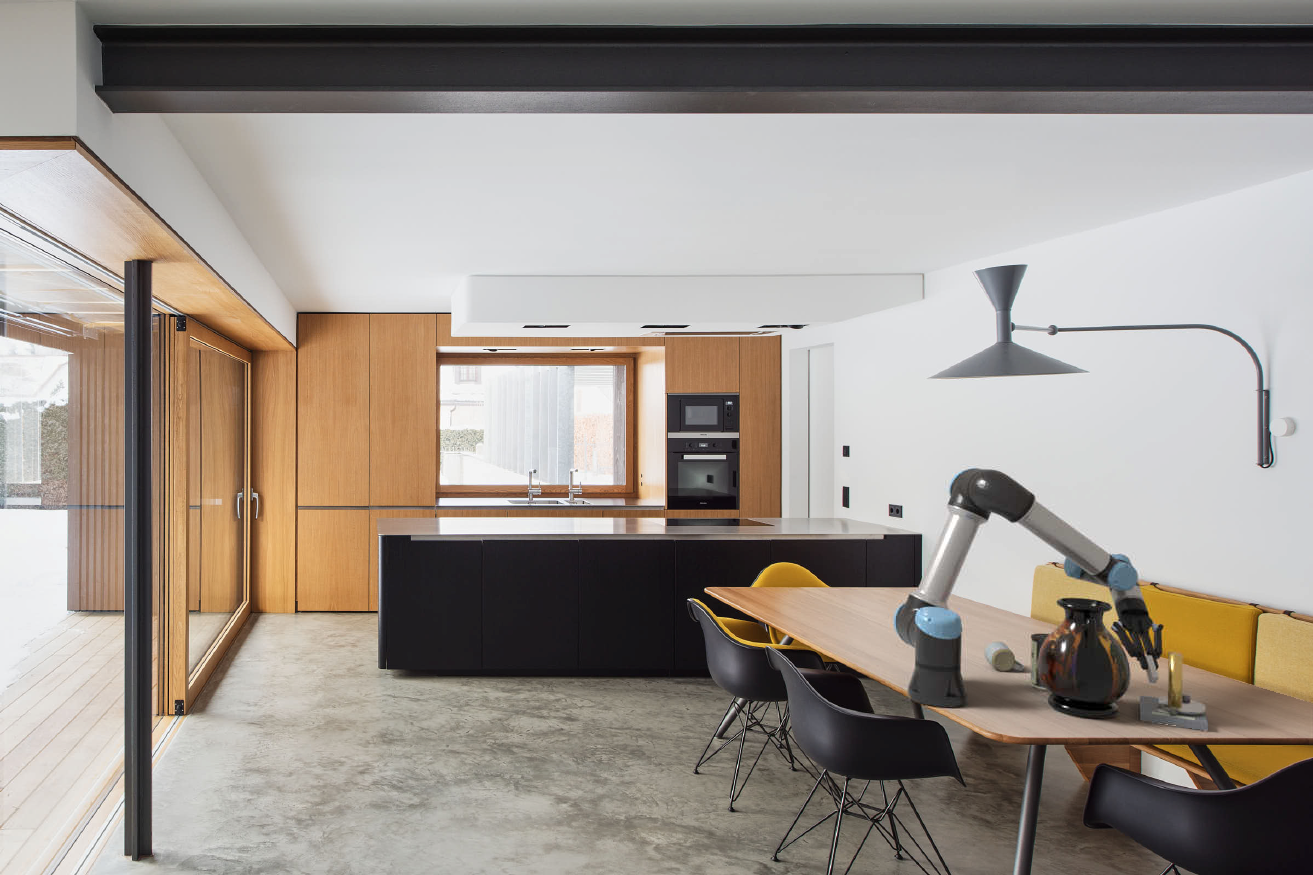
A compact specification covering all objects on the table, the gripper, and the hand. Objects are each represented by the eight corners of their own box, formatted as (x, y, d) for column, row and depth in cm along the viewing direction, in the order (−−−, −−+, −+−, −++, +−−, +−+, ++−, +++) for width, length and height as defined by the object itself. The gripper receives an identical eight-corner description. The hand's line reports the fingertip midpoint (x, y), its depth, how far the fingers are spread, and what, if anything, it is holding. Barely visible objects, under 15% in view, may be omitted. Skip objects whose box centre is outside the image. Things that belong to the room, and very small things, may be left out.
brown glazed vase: (1141, 727, 201) (1142, 612, 201) (1044, 717, 207) (1046, 605, 207) (1117, 702, 222) (1118, 597, 222) (1030, 693, 228) (1031, 592, 228)
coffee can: (1078, 690, 232) (1079, 640, 232) (1047, 692, 229) (1048, 641, 229) (1051, 680, 242) (1052, 632, 242) (1022, 682, 239) (1022, 633, 239)
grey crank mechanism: (1207, 731, 199) (1207, 715, 199) (1140, 720, 206) (1140, 705, 206) (1201, 711, 215) (1202, 697, 215) (1139, 702, 222) (1139, 688, 222)
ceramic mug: (991, 671, 250) (992, 646, 250) (983, 664, 258) (984, 640, 259) (1027, 674, 249) (1028, 648, 249) (1019, 667, 257) (1020, 642, 257)
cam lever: (1210, 709, 209) (1211, 651, 209) (1197, 718, 201) (1198, 658, 202) (1165, 700, 216) (1166, 644, 216) (1151, 708, 209) (1152, 650, 209)
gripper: (1108, 594, 229) (1131, 670, 213) (1159, 597, 227) (1186, 674, 210) (1100, 610, 234) (1123, 685, 218) (1150, 612, 232) (1177, 689, 215)
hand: (1154, 680), depth 214 cm, fingers closed
